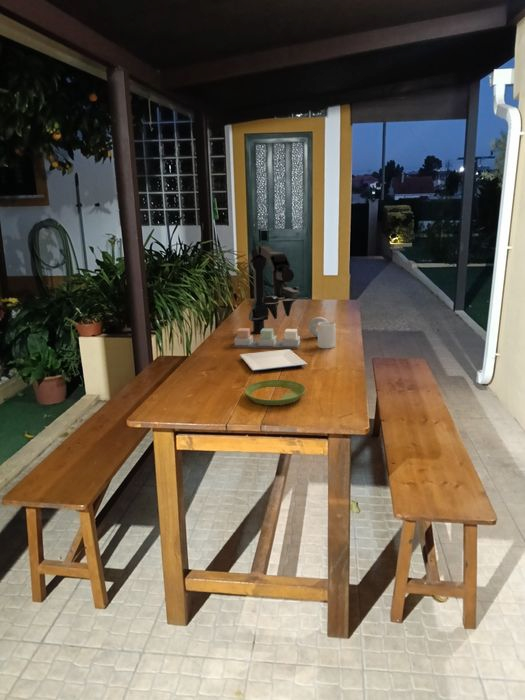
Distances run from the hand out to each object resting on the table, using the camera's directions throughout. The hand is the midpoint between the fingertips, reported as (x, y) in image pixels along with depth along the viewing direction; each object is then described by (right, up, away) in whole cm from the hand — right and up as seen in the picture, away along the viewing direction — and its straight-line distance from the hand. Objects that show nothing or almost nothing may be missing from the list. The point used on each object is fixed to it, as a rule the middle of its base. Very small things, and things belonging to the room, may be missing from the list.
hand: (281, 317), depth 244 cm
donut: (+18, -9, +18) cm, 27 cm away
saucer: (-4, -31, -56) cm, 64 cm away
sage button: (-6, -9, +6) cm, 13 cm away
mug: (+21, -12, +5) cm, 25 cm away
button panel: (-6, -12, +7) cm, 16 cm away
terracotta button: (-17, -9, +8) cm, 21 cm away
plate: (-5, -20, -19) cm, 28 cm away
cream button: (+4, -9, +4) cm, 11 cm away
